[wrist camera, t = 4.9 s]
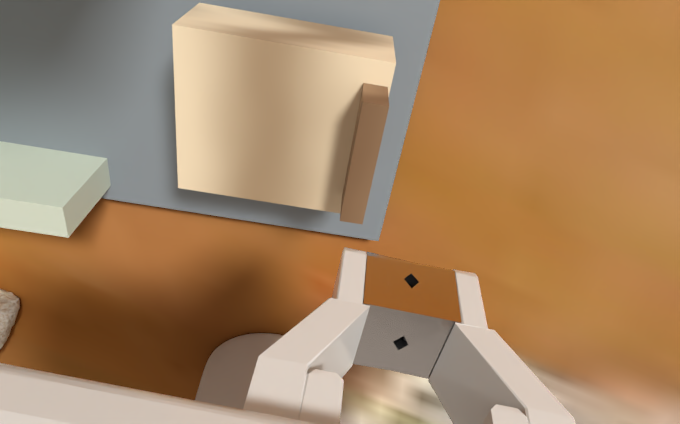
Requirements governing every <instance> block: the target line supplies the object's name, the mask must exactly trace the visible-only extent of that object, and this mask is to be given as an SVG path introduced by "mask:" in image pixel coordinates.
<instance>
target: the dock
mask: <svg viewBox="0 0 680 424" xmlns="http://www.w3.org/2000/svg"><path fill="white" fill-rule="evenodd" d="M439 2H440V0H0V227H1V228H8V229H14V230H21V231H28V232H34V233H41V234H47V235H54V236H61V237H67V238H69V236H70V235H71V234H72V233H73V232H74V230H75V229H76V228H77V227H78V225H79V224H80V223H81V222H82V221H83V219H84V218H85V217H86V216H87V214H88V213H89V212H90V211H91V209H92V208H93V207H94V206H95V205H96V203H97V202H98V201H99V200H100V198H104V199H111V200H117V201H123V202H130V203H136V204H143V205H149V206H156V207H162V208H169V209H175V210H181V211H188V212H194V213H201V214H207V215H214V216H220V217H227V218H233V219H239V220H246V221H252V222H259V223H265V224H272V225H278V226H285V227H291V228H297V229H304V230H310V231H317V232H323V233H330V234H336V235H343V236H349V237H355V238H362V239H368V240H375V241H379V237H380V233H381V229H382V225H383V221H384V217H385V213H386V210H387V206H388V202H389V198H390V194H391V190H392V186H393V182H394V178H395V174H396V170H397V167H398V163H399V159H400V155H401V151H402V147H403V143H404V139H405V135H406V131H407V127H408V124H409V120H410V116H411V112H412V108H413V104H414V100H415V96H416V92H417V88H418V84H419V81H420V77H421V73H422V69H423V65H424V61H425V57H426V53H427V49H428V45H429V41H430V38H431V34H432V30H433V26H434V22H435V18H436V14H437V10H438V6H439ZM198 3H205V4H211V5H216V6H222V7H228V8H233V9H239V10H245V11H251V12H256V13H262V14H268V15H273V16H279V17H285V18H291V19H296V20H302V21H308V22H313V23H319V24H325V25H331V26H336V27H342V28H348V29H353V30H359V31H365V32H371V33H376V34H382V35H388V36H393V42H394V50H395V58H396V66H395V71H394V75H393V80H392V84H391V89H390V93H389V110H388V114H387V119H386V123H385V128H384V132H383V136H382V141H381V145H380V150H379V154H378V158H377V163H376V167H375V172H374V176H373V180H372V185H371V189H370V194H369V198H368V203H367V207H366V211H365V216H364V220H363V225H362V224H356V223H349V222H343V221H340V213H334V212H328V211H321V210H315V209H308V208H302V207H296V206H289V205H283V204H277V203H270V202H264V201H258V200H251V199H245V198H239V197H232V196H226V195H219V194H213V193H207V192H200V191H194V190H188V189H181V188H178V173H177V146H176V118H175V91H174V64H173V37H172V24H173V23H175V22H176V21H177V20H178V19H180V18H181V17H182V16H183V15H185V14H186V13H187V12H188V11H190V10H191V9H192V8H193V7H195V6H196V5H197V4H198Z"/></svg>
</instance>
